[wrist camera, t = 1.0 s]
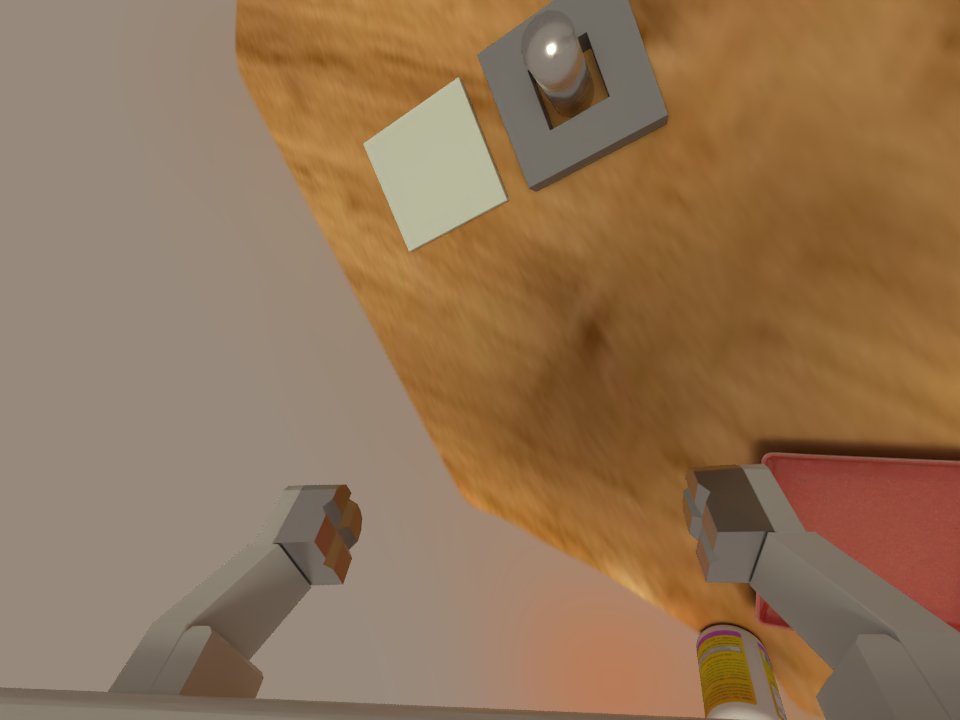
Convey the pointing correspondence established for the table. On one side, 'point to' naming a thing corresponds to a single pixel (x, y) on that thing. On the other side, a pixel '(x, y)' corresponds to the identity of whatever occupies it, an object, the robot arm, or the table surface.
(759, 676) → the supplement bottle
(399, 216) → the pad
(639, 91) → the square socket
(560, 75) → the peg
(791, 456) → the plant saucer
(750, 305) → the table surface
